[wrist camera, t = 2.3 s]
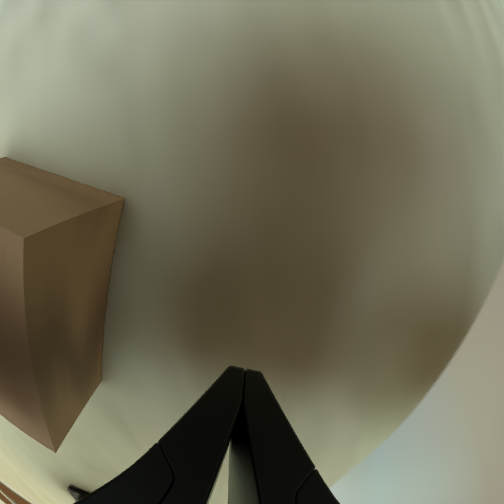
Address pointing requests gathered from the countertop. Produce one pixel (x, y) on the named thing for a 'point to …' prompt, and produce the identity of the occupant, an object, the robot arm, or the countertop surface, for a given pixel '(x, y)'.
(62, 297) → the block
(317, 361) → the countertop surface
